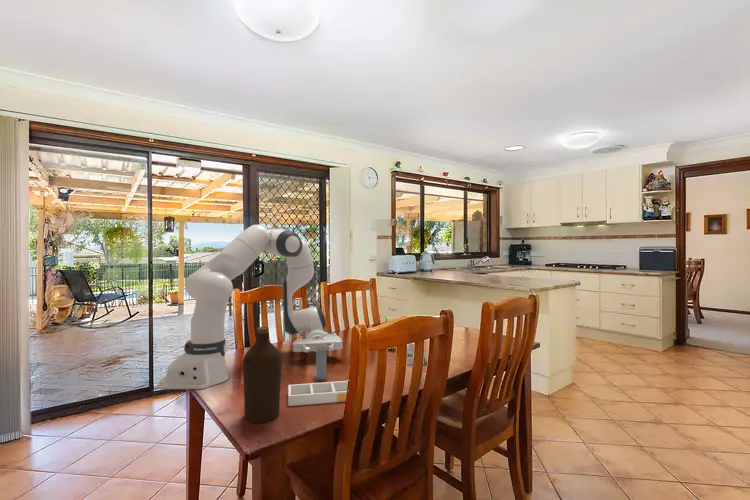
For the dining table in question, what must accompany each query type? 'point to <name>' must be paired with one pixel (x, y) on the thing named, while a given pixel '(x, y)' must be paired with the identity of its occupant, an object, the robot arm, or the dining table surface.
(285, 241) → the robot arm
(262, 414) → the olive oil
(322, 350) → the dark grey metallic block
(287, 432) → the dining table surface
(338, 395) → the rack
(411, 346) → the ink box
